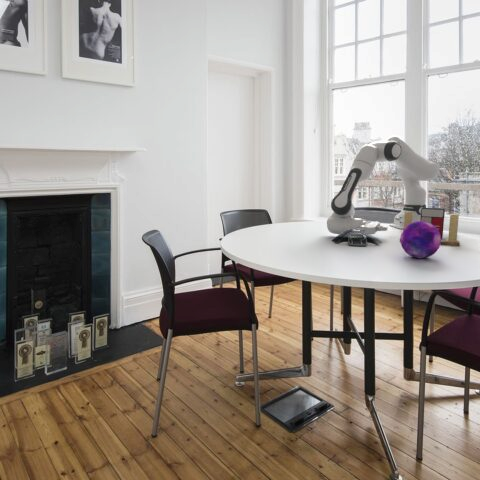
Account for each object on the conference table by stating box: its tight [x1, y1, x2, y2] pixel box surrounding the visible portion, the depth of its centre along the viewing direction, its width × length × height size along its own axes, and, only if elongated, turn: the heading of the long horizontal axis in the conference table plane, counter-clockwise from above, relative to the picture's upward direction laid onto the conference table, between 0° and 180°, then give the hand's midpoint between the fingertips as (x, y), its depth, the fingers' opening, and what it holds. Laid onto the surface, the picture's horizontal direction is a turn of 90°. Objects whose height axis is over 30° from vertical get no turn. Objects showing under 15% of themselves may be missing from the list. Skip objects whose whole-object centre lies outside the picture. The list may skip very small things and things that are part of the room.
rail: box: [399, 237, 460, 247], centre depth 211 cm, size 26×7×2 cm, turn 65°
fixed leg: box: [446, 213, 460, 243], centre depth 206 cm, size 5×5×13 cm
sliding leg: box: [404, 211, 413, 228], centre depth 214 cm, size 5×5×13 cm
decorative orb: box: [399, 221, 441, 259], centre depth 176 cm, size 15×15×15 cm
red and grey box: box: [420, 207, 446, 238], centre depth 228 cm, size 11×4×15 cm, turn 62°
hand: (387, 228), depth 219 cm, fingers closed
